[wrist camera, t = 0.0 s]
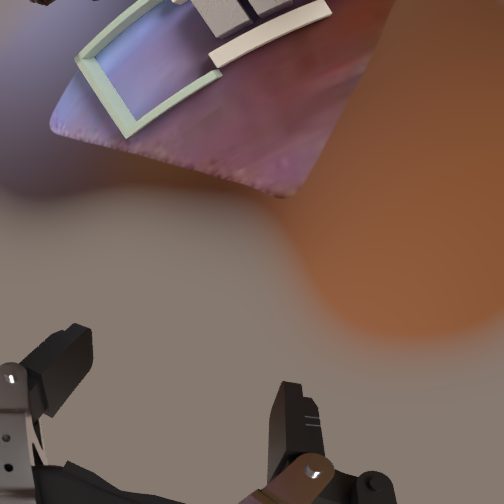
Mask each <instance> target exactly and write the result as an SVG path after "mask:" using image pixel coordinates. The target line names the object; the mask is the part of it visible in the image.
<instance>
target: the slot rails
mask: <svg viewBox="0 0 504 504" xmlns="http://www.w3.org/2000/svg"><path fill="white" fill-rule="evenodd" d="M186 1H188V0H172V2H173V3H176V4H179V5H182V4H183V3H185V2H186ZM331 14H332V12H331V11H330V9H329V7H328V6H327V4H326V2H325V1H324V0H317V1H314V2H312V3H309V4H307V5H304V6H302V7H299V8H297V9H295V10H292V11H290V12H288V13H285V14H283V15H281V16H279V17H277V18H274V19H272V20H270V21H268V22H266V23H264V24H262V25H260V26H258V27H256V28H254V29H252V30H250V31H248V32H246V33H244V34H242V35H240V36H239V37H237V38H235V39H233V40H231V41H229V42H228V43H226V44H224V45H222V46H221V47H219V48H217V49H215V50H214V51H212V52H210V53H209V56H210V58H211V59H212V61H213V62H214V64H215V65H216V67H217V68H220V67H223V66H225V65H227V64H228V63H230V62H232V61H234V60H236V59H238V58H239V57H241V56H243V55H245V54H247V53H249V52H251V51H253V50H255V49H256V48H258V47H260V46H262V45H264V44H266V43H269V42H271V41H273V40H275V39H277V38H279V37H281V36H283V35H285V34H288V33H290V32H292V31H294V30H297V29H299V28H301V27H304V26H306V25H308V24H311V23H313V22H316V21H318V20H321V19H323V18H326V17H329V16H330V15H331Z"/></svg>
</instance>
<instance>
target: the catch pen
mask: <svg viewBox="0 0 504 504" xmlns="http://www.w3.org/2000/svg"><path fill="white" fill-rule="evenodd" d="M162 1H164V0H138V1H137V2H135V3H134V4H133V5H132V6H130V7H129V8H128V9H127V10H125V11H124V12H123V13H122V14H121V15H119V16H118V17H117V18H116V19H115V20H114V21H113V22H111V23H110V24H109V25H108V26H107V27H106V28H105V29H103V30H102V31H101V32H100V33H99V34H98V35H97V36H96V37H95V38H94V39H93V40H92V41H91V42H90V43H89V44H88V45H87V46H86V47H85V48H84V49H83V50H82V51H81V52H80V53H79V54H78V55H77V56H76V57H75V58H74V60H75V62H76V64H77V65H78V67H79V68H80V70H81V72H82V73H83V75H84V76H85V78H86V79H87V81H88V83H89V84H90V86H91V87H92V89H93V90H94V92H95V93H96V95H97V96H98V98H99V100H100V101H101V103H102V104H103V106H104V107H105V109H106V110H107V112H108V113H109V115H110V116H111V118H112V119H113V121H114V122H115V124H116V125H117V127H118V128H119V130H120V131H121V133H122V134H123V136H124V137H125V139H127V138H129V137H130V136H132V135H133V134H135V133H137V132H138V131H139V130H141V129H142V128H143V127H145V126H146V125H148V124H149V123H150V122H152V121H153V120H155V119H156V118H157V117H159V116H160V115H162V114H163V113H165V112H166V111H167V110H169V109H170V108H172V107H173V106H175V105H176V104H178V103H179V102H181V101H182V100H184V99H186V98H187V97H189V96H190V95H192V94H193V93H195V92H197V91H198V90H200V89H202V88H203V87H205V86H206V85H208V84H210V83H211V82H213V81H215V80H217V79H218V78H220V77H222V76H223V75H222V73H221V72H220V70H219V69H217V70H212V71H210V72H209V73H207V74H205V75H204V76H202V77H201V78H199V79H197V80H196V81H194V82H193V83H191V84H189V85H188V86H186V87H185V88H183V89H182V90H180V91H179V92H177V93H176V94H174V95H173V96H171V97H170V98H168V99H167V100H165V101H164V102H163V103H161V104H160V105H158V106H157V107H156V108H154V109H153V110H151V111H150V112H149V113H147V114H146V115H145V116H143V117H142V118H141V119H139V120H138V121H136V120H135V118H134V117H133V115H132V114H131V112H130V111H129V109H128V108H127V106H126V105H125V103H124V102H123V100H122V99H121V97H120V96H119V94H118V93H117V91H116V90H115V88H114V87H113V85H112V83H111V82H110V80H109V79H108V77H107V76H106V74H105V73H104V71H103V70H102V68H101V67H100V65H99V64H98V62H97V60H96V59H95V56H96V55H97V54H98V53H99V52H100V51H101V50H103V49H104V48H105V47H106V46H107V45H108V44H109V43H110V42H111V41H113V40H114V39H115V38H116V37H117V36H118V35H119V34H121V33H122V32H123V31H124V30H125V29H127V28H128V27H129V26H130V25H132V24H133V23H134V22H135V21H137V20H138V19H139V18H140V17H142V16H143V15H144V14H146V13H147V12H148V11H150V10H151V9H152V8H154V7H155V6H156V5H158V4H159V3H161V2H162Z"/></svg>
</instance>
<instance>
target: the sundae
mask: <svg viewBox="0 0 504 504" xmlns="http://www.w3.org/2000/svg"><path fill="white" fill-rule="evenodd" d="M30 1H31V2H33V3H35V2H37V3H38V4H41V5H46V6H48V5H49V4H50V3H52V2H53V1H55V0H30ZM93 1H96V0H93Z"/></svg>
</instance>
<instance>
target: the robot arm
mask: <svg viewBox="0 0 504 504" xmlns="http://www.w3.org/2000/svg"><path fill="white" fill-rule="evenodd" d="M92 363H93V345H92V332H91V329H90V328H87V327H84V326H81V325H79V324H76V323H74V324H72V325H71V326H70V327H69V328H68V329H67V330H65V331H63V330H61V331H58V332H56V333H53V334H52V335H50V336H49V337H48V338H47V339H46V340H45V342H42V343H41V344H40V345H39V347H37V348H36V349H34V350H33V351H32V352H31V353H30V354H29V355H28V356H27V357H26V358H25V359H23V360H22V361H21V362H20V363H19V364H18V363H14V362H9V363H4V364H2V365H0V504H185V503H181V502H177V501H174V500H170V499H166V498H163V497H159V496H156V495H149V494H140V493H132V492H125V491H121V490H119V489H117V488H116V487H114V486H112V485H111V484H109V483H108V482H106V481H105V480H103V479H102V478H101V477H99V476H98V475H96V474H95V473H93V472H91V471H89V470H86V469H84V468H82V467H80V466H78V465H76V464H74V463H71V462H69V461H67V462H66V464H65V466H64V467H61V466H55V465H49V464H48V461H47V458H46V454H45V447H44V441H43V434H42V427H41V420H40V416H41V415H42V414H43V413H44V414H46V415H48V416H50V417H52V418H53V417H54V415H55V414H56V413H57V411H58V410H59V409H60V407H61V406H62V405H63V404H64V402H65V401H66V400H67V398H68V397H69V396H70V395H71V393H72V392H73V391H74V389H75V388H76V387H77V386H78V384H79V383H80V382H81V380H82V379H83V378H84V377H85V376H86V374H87V373H88V372H89V370H90V369H91V366H92ZM238 504H397V502H396V497H395V492H394V488H393V484H392V482H391V480H390V479H389V478H388V477H387V476H386V475H384V474H383V473H380V472H377V471H368V472H364V473H363V474H361V475H360V476H359V477H356V476H352V475H348V474H345V473H342V472H340V471H338V470H336V469H334V466H333V464H332V463H331V461H330V460H329V459H328V458H326V457H325V452H324V445H323V438H322V431H321V427H320V419H319V412H318V407H317V405H316V404H315V403H314V401H313V399H312V398H308V397H303V392H302V386H301V384H298V383H291V382H285V381H282V383H281V385H280V388H279V391H278V393H277V396H276V399H275V401H274V404H273V406H272V409H271V414H270V419H269V447H268V475H267V486H265V487H264V488H263V489H261V490H260V489H258V490H256V491H254V492H252V493H251V494H250V495H248V496H247V497H246V498H245V499H243V500H242V501H241V502H239V503H238Z"/></svg>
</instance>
